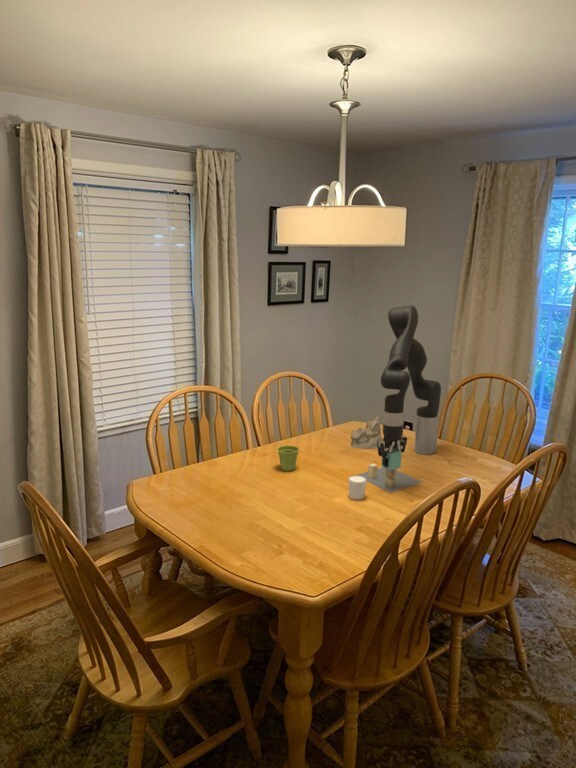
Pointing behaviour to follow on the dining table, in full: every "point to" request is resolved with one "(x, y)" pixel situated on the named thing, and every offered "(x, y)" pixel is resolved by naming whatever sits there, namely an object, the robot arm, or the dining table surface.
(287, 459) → the plant pot
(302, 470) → the dining table surface
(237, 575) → the dining table surface
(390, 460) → the teal block
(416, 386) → the robot arm
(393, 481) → the post tall
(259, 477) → the dining table surface
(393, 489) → the board
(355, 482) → the white cylinder
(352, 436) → the ceramic cottage
